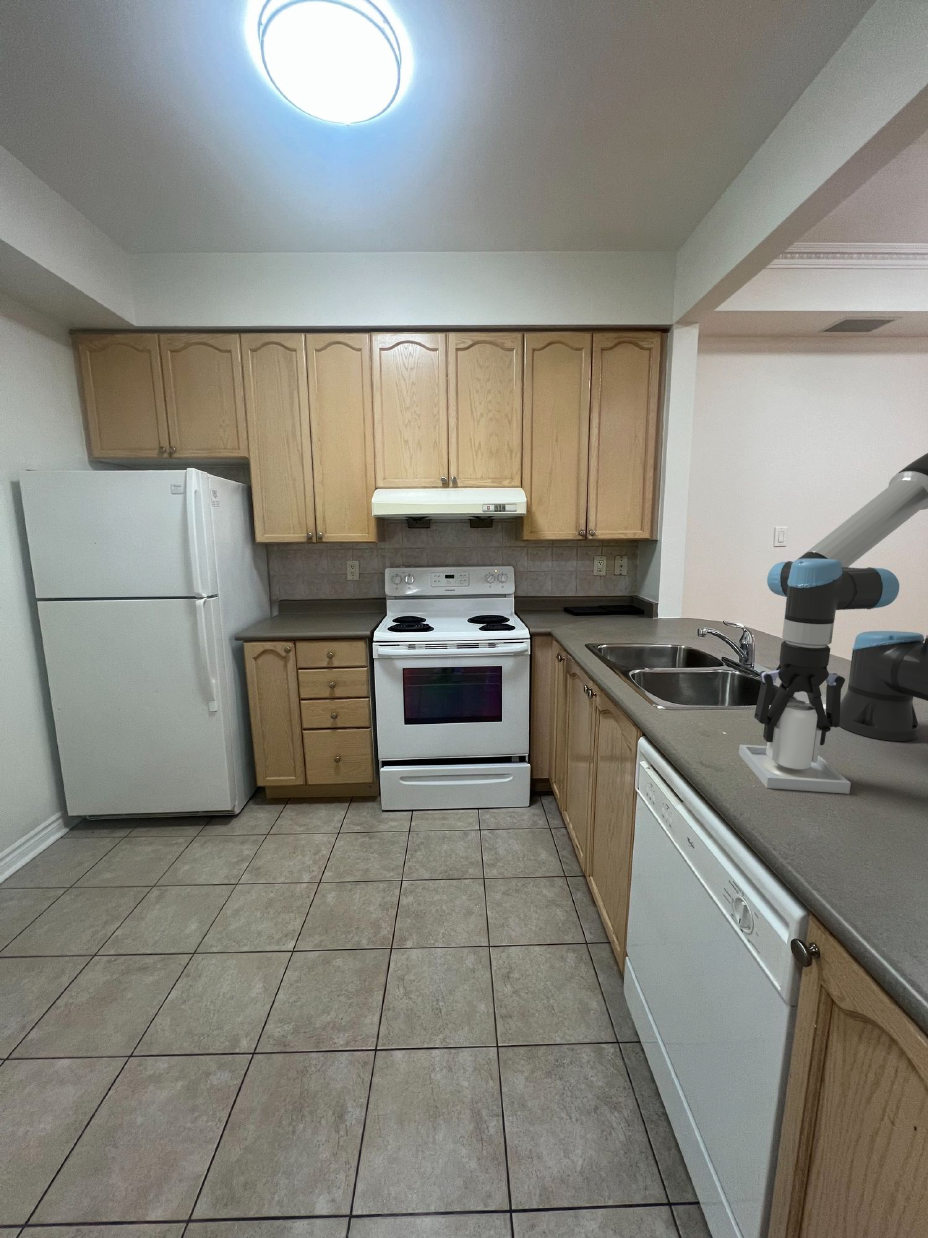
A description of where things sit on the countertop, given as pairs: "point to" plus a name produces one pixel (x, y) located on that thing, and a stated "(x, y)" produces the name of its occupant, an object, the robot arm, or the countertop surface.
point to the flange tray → (793, 773)
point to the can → (796, 735)
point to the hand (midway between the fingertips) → (791, 758)
